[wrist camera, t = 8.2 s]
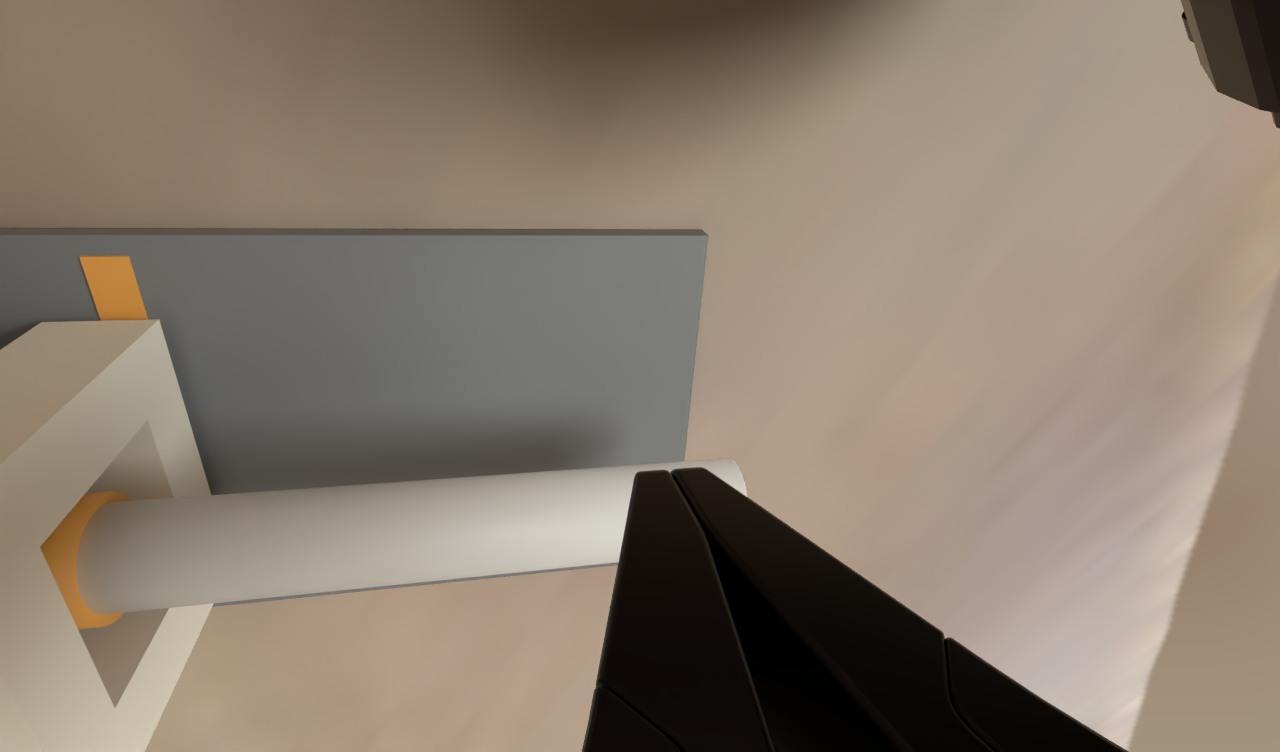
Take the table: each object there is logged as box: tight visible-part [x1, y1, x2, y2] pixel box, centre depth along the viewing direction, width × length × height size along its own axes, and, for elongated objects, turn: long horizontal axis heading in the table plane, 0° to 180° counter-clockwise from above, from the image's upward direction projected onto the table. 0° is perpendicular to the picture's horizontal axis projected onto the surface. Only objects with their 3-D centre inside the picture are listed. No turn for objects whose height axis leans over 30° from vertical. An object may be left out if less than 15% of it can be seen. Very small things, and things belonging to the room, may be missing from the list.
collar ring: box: [0, 319, 214, 752], centre depth 15 cm, size 2×8×8 cm, turn 177°
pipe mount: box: [0, 228, 747, 629], centre depth 16 cm, size 24×12×8 cm, turn 86°
